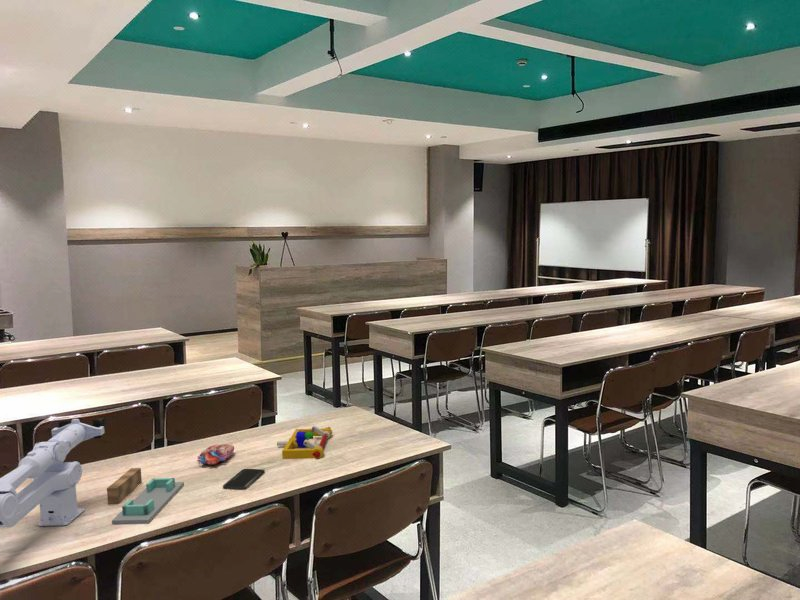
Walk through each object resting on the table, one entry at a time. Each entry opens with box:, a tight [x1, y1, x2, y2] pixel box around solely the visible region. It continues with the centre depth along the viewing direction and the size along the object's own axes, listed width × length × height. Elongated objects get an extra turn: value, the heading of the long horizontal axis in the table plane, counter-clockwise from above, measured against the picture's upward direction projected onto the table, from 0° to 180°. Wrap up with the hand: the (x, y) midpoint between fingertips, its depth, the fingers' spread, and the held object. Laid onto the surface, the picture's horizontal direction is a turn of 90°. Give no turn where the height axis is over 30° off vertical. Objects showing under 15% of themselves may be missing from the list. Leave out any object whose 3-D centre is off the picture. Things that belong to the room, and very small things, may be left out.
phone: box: [222, 468, 266, 491], centre depth 195 cm, size 8×1×15 cm
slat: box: [106, 467, 143, 505], centre depth 188 cm, size 16×3×5 cm, turn 179°
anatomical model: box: [196, 443, 235, 465], centre depth 214 cm, size 11×6×15 cm
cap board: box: [111, 477, 185, 525], centre depth 180 cm, size 26×10×4 cm, turn 179°
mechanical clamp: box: [276, 425, 333, 460], centre depth 227 cm, size 18×6×30 cm
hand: (92, 420), depth 189 cm, fingers open, 7 cm apart
